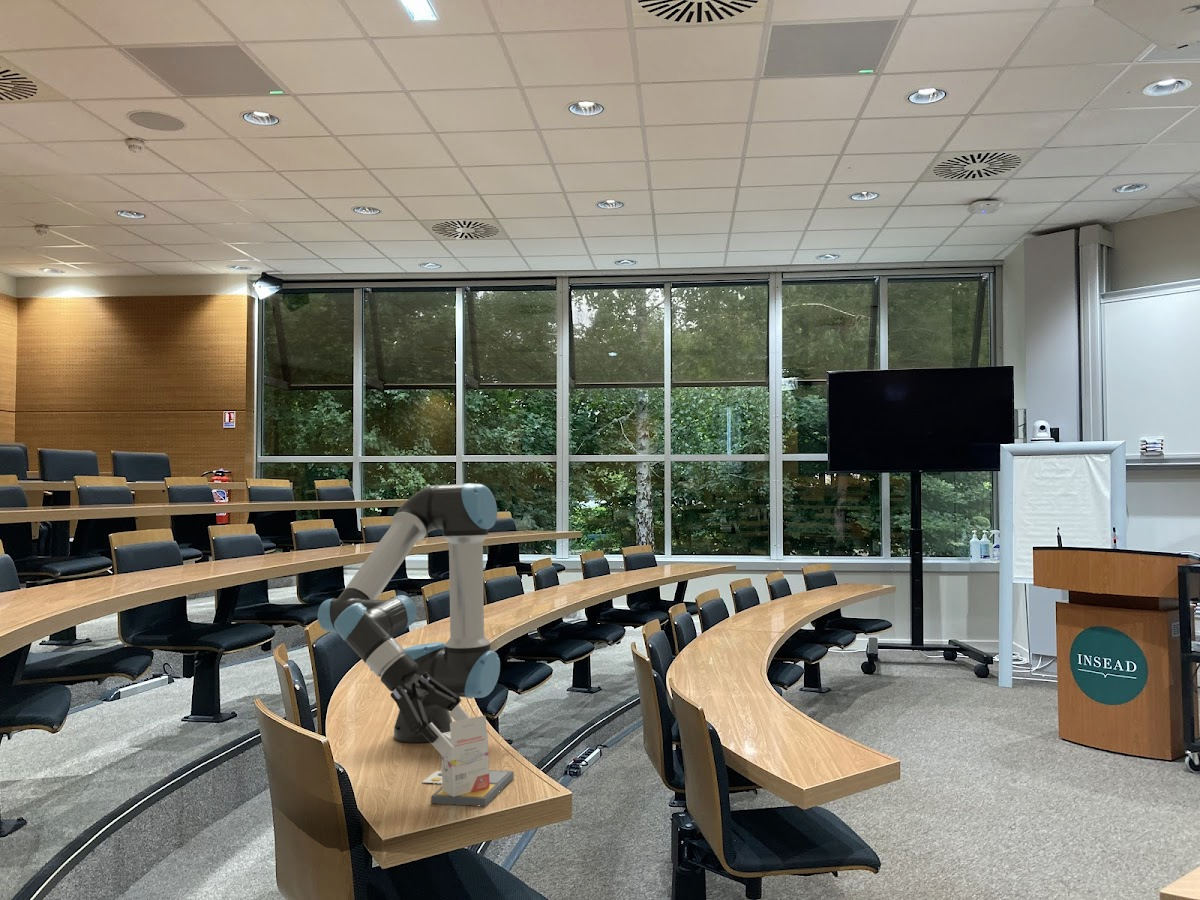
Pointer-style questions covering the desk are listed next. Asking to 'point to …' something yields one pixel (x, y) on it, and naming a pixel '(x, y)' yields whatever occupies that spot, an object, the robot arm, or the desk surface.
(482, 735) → the ink cartridge box
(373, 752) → the desk surface
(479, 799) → the pad board
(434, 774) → the pattern card
